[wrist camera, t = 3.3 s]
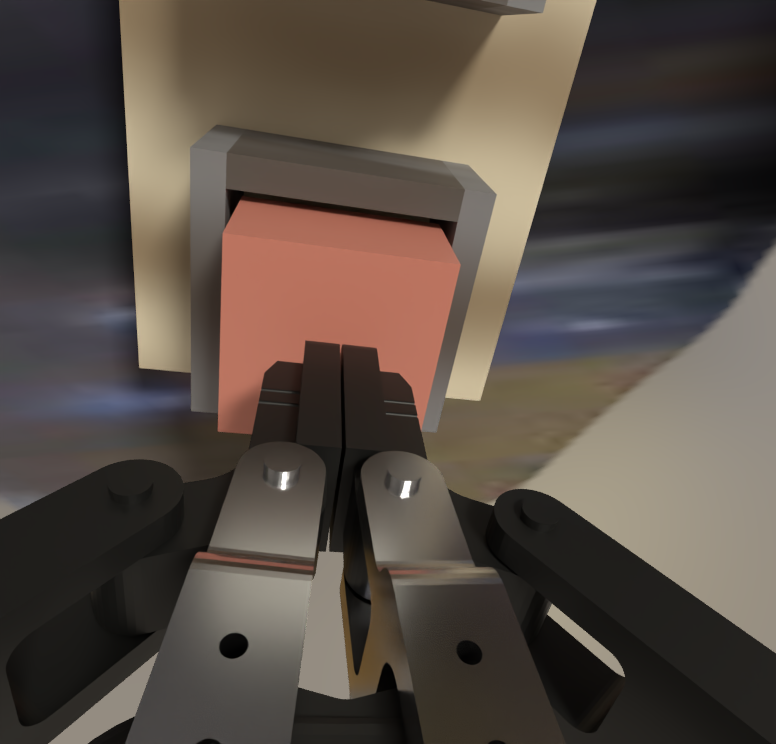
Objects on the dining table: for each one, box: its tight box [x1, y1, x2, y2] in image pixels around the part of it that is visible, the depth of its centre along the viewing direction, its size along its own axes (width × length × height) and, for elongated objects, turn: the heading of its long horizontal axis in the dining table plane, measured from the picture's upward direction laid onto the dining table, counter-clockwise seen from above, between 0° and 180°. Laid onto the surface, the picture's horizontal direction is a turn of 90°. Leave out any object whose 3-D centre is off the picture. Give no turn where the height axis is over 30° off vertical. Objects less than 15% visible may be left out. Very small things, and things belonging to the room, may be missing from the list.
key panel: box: [119, 0, 596, 432], centre depth 15 cm, size 20×12×6 cm, turn 171°
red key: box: [218, 196, 461, 434], centre depth 15 cm, size 5×5×3 cm
